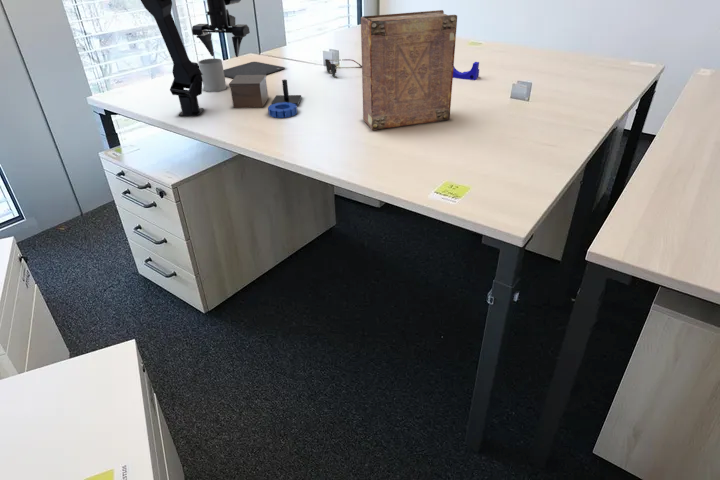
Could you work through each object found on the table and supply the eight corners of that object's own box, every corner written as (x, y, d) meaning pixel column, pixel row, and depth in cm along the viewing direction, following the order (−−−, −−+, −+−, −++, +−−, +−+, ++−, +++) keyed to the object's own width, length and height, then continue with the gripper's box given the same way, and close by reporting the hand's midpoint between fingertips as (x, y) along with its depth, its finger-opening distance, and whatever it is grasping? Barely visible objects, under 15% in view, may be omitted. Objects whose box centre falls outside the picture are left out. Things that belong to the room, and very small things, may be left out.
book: (437, 111, 156) (444, 9, 139) (449, 120, 148) (458, 14, 132) (362, 120, 150) (360, 16, 133) (371, 130, 143) (370, 21, 126)
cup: (220, 92, 179) (215, 64, 173) (200, 91, 180) (194, 63, 175) (230, 85, 186) (225, 58, 180) (210, 84, 187) (205, 58, 182)
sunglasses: (325, 70, 201) (324, 58, 198) (360, 68, 206) (361, 56, 203) (335, 79, 190) (335, 66, 187) (372, 76, 195) (373, 64, 192)
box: (263, 107, 163) (259, 83, 158) (232, 108, 163) (228, 83, 159) (269, 98, 171) (266, 74, 167) (240, 98, 172) (236, 75, 167)
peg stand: (297, 106, 163) (295, 83, 159) (271, 106, 163) (268, 84, 159) (301, 98, 170) (299, 76, 166) (276, 98, 171) (273, 76, 166)
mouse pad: (245, 81, 190) (245, 80, 190) (213, 73, 200) (212, 72, 200) (286, 68, 205) (286, 67, 205) (254, 62, 215) (253, 61, 215)
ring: (294, 117, 154) (294, 111, 152) (266, 118, 154) (265, 111, 153) (298, 108, 161) (298, 101, 160) (271, 108, 162) (271, 102, 160)
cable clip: (478, 77, 187) (480, 61, 184) (475, 80, 184) (476, 64, 181) (449, 73, 192) (450, 58, 189) (445, 76, 189) (446, 61, 185)
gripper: (252, 4, 164) (258, 52, 172) (202, 3, 167) (210, 50, 176) (239, 8, 155) (246, 59, 163) (186, 8, 158) (196, 57, 167)
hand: (225, 56), depth 167 cm, fingers open, 9 cm apart
